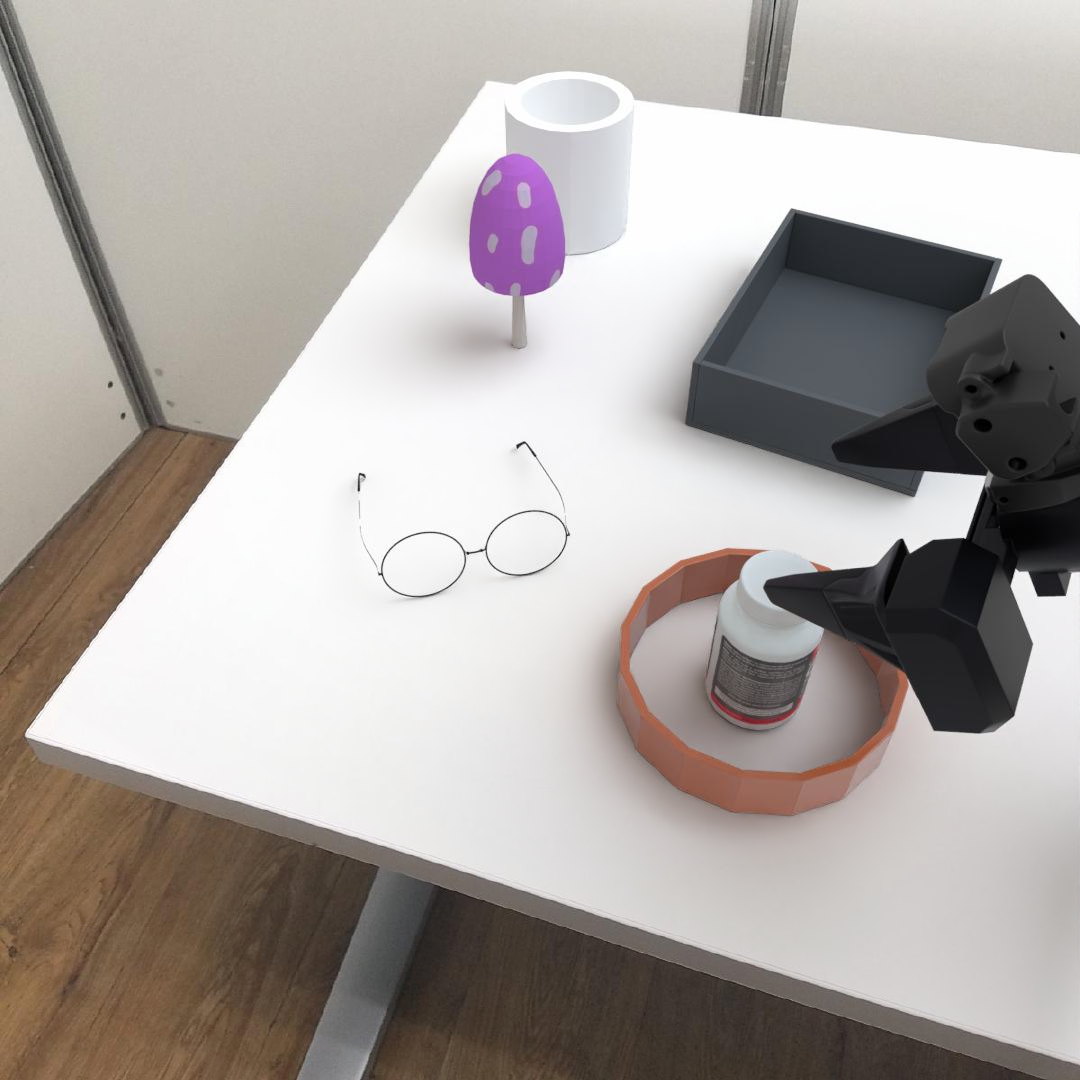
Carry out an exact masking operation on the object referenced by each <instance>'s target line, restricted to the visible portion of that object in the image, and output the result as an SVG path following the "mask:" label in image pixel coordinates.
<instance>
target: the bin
mask: <svg viewBox="0 0 1080 1080" xmlns="http://www.w3.org/2000/svg"><path fill="white" fill-rule="evenodd" d="M762 251H763V252H762V253H761V254H760V256H759V257H758V260H757V261H756V262H755V264H754V265H753V267H752V269H751V270H750V271H749V273H748V275H747V276H746V278H745V279H744V280H743V283H742V284H741V285H740V286H739V287H740V288H739V289H738V290H737V292H736V294H735V295H734V297H733V298H732V299H731V301H730V303H729V305H728V306H727V307H726V309H725V310H724V312H723V314H722V315H721V316H720V319H719V320H718V322H717V324H716V325H715V327H714V328H713V329H712V330H711V333H710V334H709V336H708V338H707V339H706V340H705V342H704V344H703V345H702V347H701V348H700V350H699V351H698V353H697V354H696V356H695V358H694V359H693V361H692V365H691V375H690V382H689V390H688V396H687V397H688V398H687V406H686V415H685V421H684V424H685V425H687V426H690V427H692V428H697V429H700V430H703V431H705V432H709V433H711V434H715V435H718V436H721V437H724V438H728V439H731V440H734V441H737V442H739V443H740V442H741V443H744V444H747V445H750V446H754V447H756V448H759V449H762V450H766V451H769V452H772V453H776V454H778V455H781V456H785V457H787V458H791V459H793V460H798V461H800V462H804V463H807V464H809V465H813V466H817V467H820V468H822V469H826V470H829V471H832V472H836V473H839V474H841V475H845V476H848V477H850V478H851V477H852V478H854V479H858V480H861V481H863V482H864V481H865V482H868V483H870V484H873V485H877V486H880V487H883V488H885V489H889V490H892V491H895V492H899V493H902V494H905V495H909V496H911V497H916V495H917V492H918V491H919V488H920V485H921V482H922V479H923V476H924V474H925V471H912V470H899V469H885V468H873V467H865V466H859V465H853V464H846V463H840V462H838V461H837V460H836V458H835V456H834V454H833V452H832V450H831V444H832V442H833V440H834V439H836V438H838V437H840V436H842V435H844V434H846V433H849V432H851V431H853V430H855V429H857V428H859V427H861V426H863V425H865V424H867V423H869V422H872V421H874V420H876V419H878V418H880V417H882V416H884V415H886V414H888V413H890V412H893V411H895V410H897V409H899V408H901V407H903V406H905V405H907V404H909V403H911V402H913V401H915V400H917V399H919V398H921V397H923V396H925V395H927V394H928V393H930V391H929V388H928V386H927V381H926V370H927V366H928V364H929V362H930V360H931V359H932V358H933V357H934V356H935V355H936V353H937V351H938V349H939V347H940V344H941V342H942V340H943V337H944V335H945V333H946V330H945V329H944V328H945V324H946V322H947V320H948V319H949V318H950V317H951V316H953V315H954V314H956V313H958V312H960V311H962V310H963V309H965V308H967V307H969V306H970V305H972V304H974V303H976V302H977V301H979V300H981V299H983V298H985V297H986V296H988V295H990V294H992V291H993V288H994V285H995V282H996V279H997V276H998V274H999V271H1000V268H1001V265H1002V262H1003V259H1002V258H1001V257H1000V258H999V257H995V256H991V255H988V254H983V253H978V252H974V251H970V250H966V249H962V248H958V247H954V246H950V245H945V244H942V243H938V242H934V241H929V240H925V239H921V238H916V237H913V236H908V235H905V234H900V233H896V232H892V231H887V230H883V229H880V228H875V227H871V226H868V225H863V224H859V223H855V222H851V221H846V220H842V219H838V218H834V217H830V216H826V215H821V214H817V213H813V212H809V211H806V210H802V209H801V210H800V209H796V208H792V207H791V208H790V209H789V211H788V212H787V213H786V215H785V216H784V219H783V220H782V221H781V223H780V224H779V226H778V228H777V229H776V231H775V233H774V234H773V236H772V237H771V239H770V240H769V242H768V243H767V245H766V247H764V250H762Z"/></svg>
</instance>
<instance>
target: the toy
mask: <svg viewBox="0 0 1080 1080" xmlns="http://www.w3.org/2000/svg"><path fill="white" fill-rule="evenodd" d="M468 235H469V236H468V252H469V263H470V269H471V273H472V275H473V278H474V279H475V280H476V281H477V283H478V284H479V285H480V286H482V287H483V288H484V289H486V290H488V291H490V292H491V293H494V294H498V295H501V296H509V297H512V299H511V300H512V304H511V305H512V306H511V307H512V310H511V311H512V312H511V315H512V316H511V322H512V323H511V345H512V346H513V348H515V349H523V348H525V347H526V346H527V345H528V336H527V335H528V334H527V319H526V317H527V316H526V305H525V297H526V296H531V295H536V294H540V293H542V292H544V291H546V290H549V289H550V288H552V287H553V286H554V285H555V284H556V283H558V281H560V279H561V277H562V275H564V269H565V261H566V254H565V233H564V224H563V219H562V215H561V210H560V206H559V202H558V198H557V196H556V193H555V190H554V188H553V185H552V183H551V182H550V180H549V178H548V177H547V175H546V173H545V172H544V170H543V169H542V168H541V167H540V166H539V165H538V164H537V163H536V162H535V161H534V160H533V159H531V158H530V157H527V156H524V155H521V154H509V155H507V156H506V155H503V156H502V157H499V158H498V159H497V160H496V161H495V162H494V163H493V164H492V165H491V166H490V167H489V168H488V169H487V171H486V172H485V174H484V176H483V178H482V180H481V181H480V184H479V185H478V188H477V190H476V194H475V197H474V200H473V203H472V208H471V214H470V220H469V234H468Z"/></svg>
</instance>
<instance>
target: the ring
mask: <svg viewBox="0 0 1080 1080" xmlns="http://www.w3.org/2000/svg"><path fill="white" fill-rule="evenodd" d="M768 550H769V549H757V548H735V547H727V548H722V549H719V550H714V551H711V552H707V553H703V554H699V555H696V556H692V557H688V558H684V559H680V560H679V561H677V562H676V563H674V564H673V565H671V567H669V568H667V569H666V570H664V571H663V572H662V573H661V574H659V575H658V576H655V578H653V579H652V580H651V581H649V582H648V583H646V584H645V585H644V586H642V587H641V589H640V591H639V593H638V595H637V597H636V599H635V600H634V601H633V603H632V605H631V606H630V607H631V608H630V609H629V611H628V612H627V614H626V616H625V618H624V619H623V621H622V623H621V626H620V637H619V648H618V663H617V696H616V699H617V700H616V705H617V709H618V711H619V713H620V715H621V718H622V720H623V722H624V724H625V727H626V729H627V731H628V733H629V735H630V737H631V740H632V742H633V744H634V746H635V749H636V751H637V752H638V753H639V754H640V755H641V756H642V757H643V758H644V759H646V761H648V762H649V763H650V764H651V765H652V766H653V767H654V768H655V769H656V770H657V771H658V772H659V773H660V774H661V775H663V776H664V778H665V779H667V780H668V781H669V782H670V783H671V784H672V785H673V786H674V787H675V788H676V789H677V790H679V791H682V792H684V793H686V794H689V795H692V796H694V797H696V798H698V799H700V800H703V801H705V802H708V803H710V804H712V805H715V806H716V807H719V808H722V809H724V810H726V811H728V812H731V813H742V814H743V813H744V814H756V815H757V814H758V815H775V816H794V815H798V814H801V813H803V812H807V811H809V810H812V809H813V810H814V809H816V808H819V807H822V806H825V805H828V804H831V803H834V802H837V801H840V800H843V799H844V798H846V797H847V796H848V795H849V794H850V793H851V792H852V791H854V789H855V788H856V787H857V786H858V785H859V784H861V783H862V782H863V781H864V780H865V778H867V777H868V776H869V775H870V774H871V773H872V772H874V770H875V769H876V768H877V767H879V765H880V764H881V762H882V760H883V758H884V755H885V754H886V753H885V752H886V751H887V748H888V747H889V744H890V741H891V739H892V736H893V735H894V732H895V731H896V727H897V724H898V721H899V718H900V715H901V711H902V709H903V706H904V703H905V699H906V697H907V693H908V690H909V686H910V683H909V680H908V678H907V676H906V674H905V673H903V672H902V671H900V670H899V669H897V668H895V667H894V666H892V665H891V664H889V663H887V662H886V661H884V660H882V659H881V658H879V657H878V656H876V655H874V654H873V653H871V652H869V651H868V650H866V649H864V648H862V647H860V646H858V645H857V644H855V643H854V645H855V647H856V648H857V649H858V651H859V652H860V654H861V655H862V657H863V659H864V660H865V661H866V663H867V664H868V666H869V667H870V669H871V670H872V672H873V674H874V675H875V677H876V681H877V687H878V694H879V699H880V704H881V705H880V706H881V709H882V717H883V720H882V723H881V727H880V729H879V730H878V731H877V732H876V733H875V734H874V735H873V736H872V737H870V739H868V740H867V741H866V742H865V743H864V744H863V745H862V746H861V747H860V748H859V749H857V751H855V752H854V753H853V754H852V755H851V756H850V757H847V758H844V759H841V760H838V761H837V760H836V761H834V762H830V763H828V764H825V765H822V766H818V767H816V768H815V767H814V768H812V769H809V770H806V771H802V772H787V771H771V770H769V771H768V770H755V769H754V770H752V769H742V768H740V767H737V766H735V765H733V764H732V765H731V764H730V763H727V762H725V761H723V760H720V759H718V758H715V757H713V756H711V755H708V754H705V753H703V752H700V751H698V750H695V749H693V748H691V747H689V746H688V745H687V744H686V743H684V741H682V740H681V739H680V738H679V736H677V735H676V734H675V733H674V732H672V731H671V729H669V728H668V727H667V726H666V725H665V724H663V723H662V721H660V719H658V718H657V717H656V716H655V715H654V714H653V713H652V712H650V710H649V708H648V706H647V704H646V701H645V699H644V697H643V695H642V692H641V691H640V689H639V686H638V684H637V682H636V680H635V678H634V676H633V674H632V672H631V670H630V669H631V668H630V667H631V666H630V665H631V664H630V663H631V657H632V655H633V653H634V651H635V650H636V648H637V646H638V644H639V642H640V641H641V639H642V637H643V635H644V633H645V631H646V629H647V628H649V627H650V626H651V625H653V624H654V623H655V622H657V621H658V620H660V619H661V618H662V617H664V616H665V615H666V614H668V613H669V612H671V610H673V609H674V608H675V607H677V606H678V605H680V604H683V603H687V602H690V601H695V600H697V599H701V598H705V597H708V596H712V595H713V596H714V595H717V594H720V593H725V591H726V590H727V589H728V588H729V587H730V586H731V585H732V584H733V583H734V582H736V581H737V580H739V577H740V573H741V570H742V568H743V566H744V564H745V563H746V562H747V561H748V560H749V559H750V558H751V557H752V556H754V555H756V554H758V553H761V552H764V551H768ZM808 561H809V562H810V563H812V564H813V566H814V567H815V568H816V569H817V571H818V572H820V571H831V570H832V569H831V568H830V567H828V566H825V565H822V564H819V563H816V562H814V561H811V560H808Z"/></svg>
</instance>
